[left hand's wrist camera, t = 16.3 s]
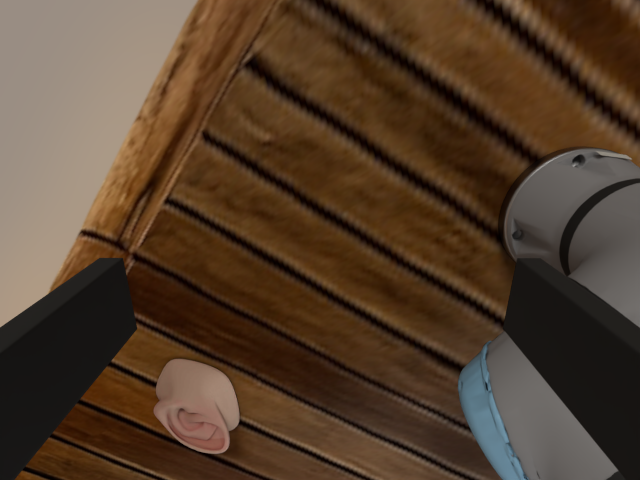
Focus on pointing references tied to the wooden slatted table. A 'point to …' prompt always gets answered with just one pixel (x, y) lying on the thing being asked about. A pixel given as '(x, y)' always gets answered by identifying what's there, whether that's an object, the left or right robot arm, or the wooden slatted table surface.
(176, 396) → the anatomical model
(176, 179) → the wooden slatted table surface
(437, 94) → the wooden slatted table surface
